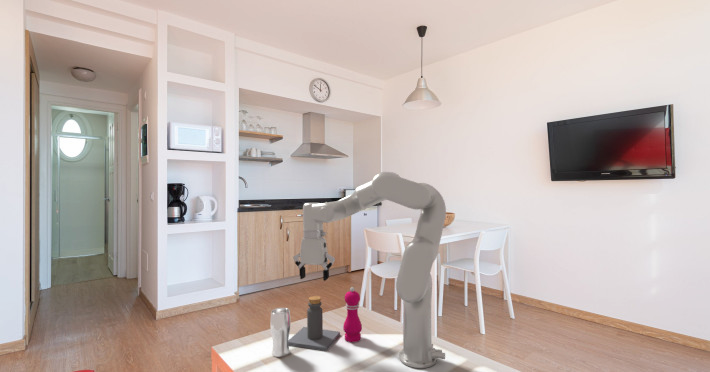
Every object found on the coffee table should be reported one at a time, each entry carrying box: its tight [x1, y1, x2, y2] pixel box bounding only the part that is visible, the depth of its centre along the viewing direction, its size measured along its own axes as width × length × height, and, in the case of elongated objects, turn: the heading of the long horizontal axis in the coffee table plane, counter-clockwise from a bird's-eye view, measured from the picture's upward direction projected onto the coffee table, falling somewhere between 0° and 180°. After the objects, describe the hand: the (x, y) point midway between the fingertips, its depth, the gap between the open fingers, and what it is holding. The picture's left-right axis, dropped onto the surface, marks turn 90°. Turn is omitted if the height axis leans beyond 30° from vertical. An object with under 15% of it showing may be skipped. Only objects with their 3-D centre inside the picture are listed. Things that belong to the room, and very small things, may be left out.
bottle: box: [306, 295, 324, 340], centre depth 131 cm, size 6×6×15 cm
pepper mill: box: [342, 286, 363, 343], centre depth 132 cm, size 7×7×20 cm
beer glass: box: [269, 307, 291, 358], centre depth 121 cm, size 7×7×15 cm
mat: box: [288, 326, 341, 352], centre depth 131 cm, size 16×14×1 cm
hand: (314, 279), depth 131 cm, fingers open, 9 cm apart
